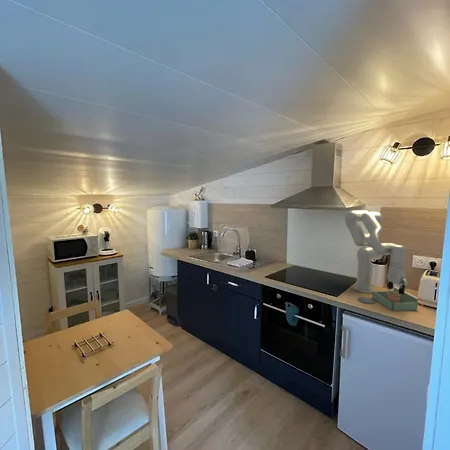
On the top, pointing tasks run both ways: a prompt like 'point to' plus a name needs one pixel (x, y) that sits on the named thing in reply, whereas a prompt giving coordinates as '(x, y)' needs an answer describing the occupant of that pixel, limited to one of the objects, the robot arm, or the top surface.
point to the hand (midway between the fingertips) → (395, 291)
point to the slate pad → (366, 300)
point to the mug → (395, 286)
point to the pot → (394, 296)
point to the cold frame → (407, 303)
